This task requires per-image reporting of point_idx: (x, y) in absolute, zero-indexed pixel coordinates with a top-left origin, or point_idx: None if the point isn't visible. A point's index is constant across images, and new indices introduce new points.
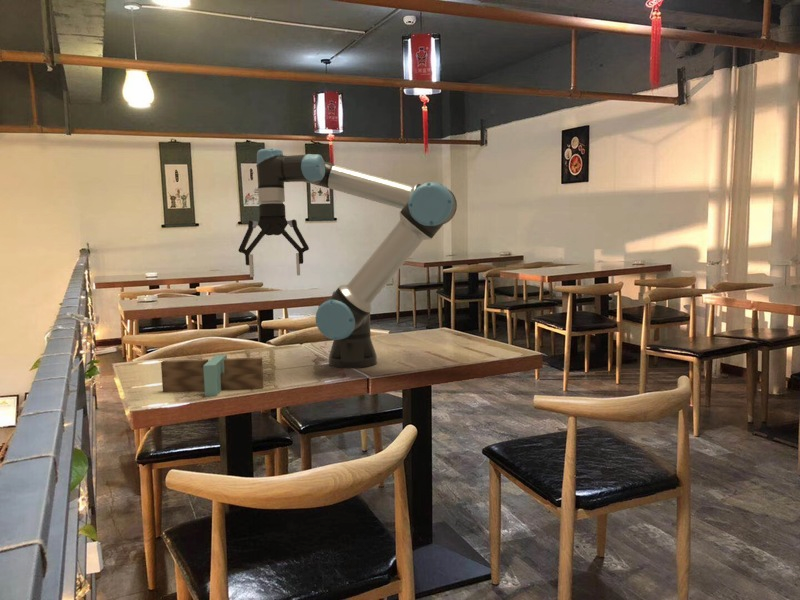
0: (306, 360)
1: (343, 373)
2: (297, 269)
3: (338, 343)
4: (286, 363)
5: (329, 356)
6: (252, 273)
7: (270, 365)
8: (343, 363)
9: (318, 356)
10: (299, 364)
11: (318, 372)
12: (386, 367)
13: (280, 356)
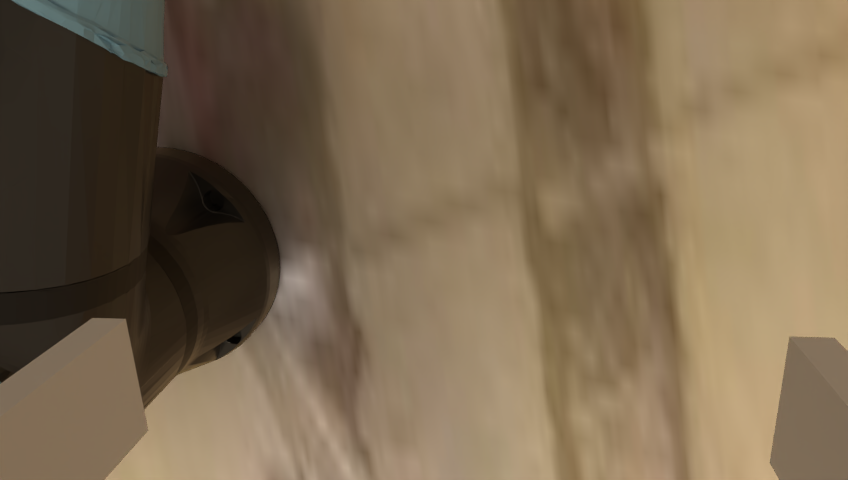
0: (395, 357)
1: (184, 49)
2: (59, 362)
3: (172, 232)
4: (481, 313)
5: (258, 250)
6: (811, 366)
7: (555, 284)
8: (189, 159)
9: (351, 428)
10: (416, 279)
11: (303, 89)
12: None
13: (528, 466)
